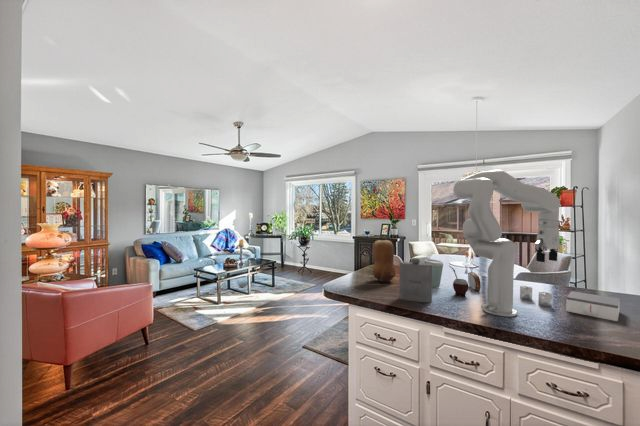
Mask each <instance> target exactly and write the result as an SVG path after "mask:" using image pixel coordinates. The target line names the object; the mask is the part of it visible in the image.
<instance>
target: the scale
mask: <svg viewBox="0 0 640 426" xmlns="http://www.w3.org/2000/svg"><path fill="white" fill-rule="evenodd" d="M620 299H621V298H617V297H610V296H604V295H600V294H599V295H597V294H592V293H585V292H580V291H579V292H578V291H575V290H574V291H573V290H571V291H570V292H569V294H568V295H567V296H566V301H565V303H566V304H565V305H566V306H565V312H569V313H573V314H574V313H575V314H579V315H583V316H589V317H594V318H598V319H599V318H600V319H604V320H609V321H614V322H618V321H619V316H620V304H621V302H620Z"/></svg>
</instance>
